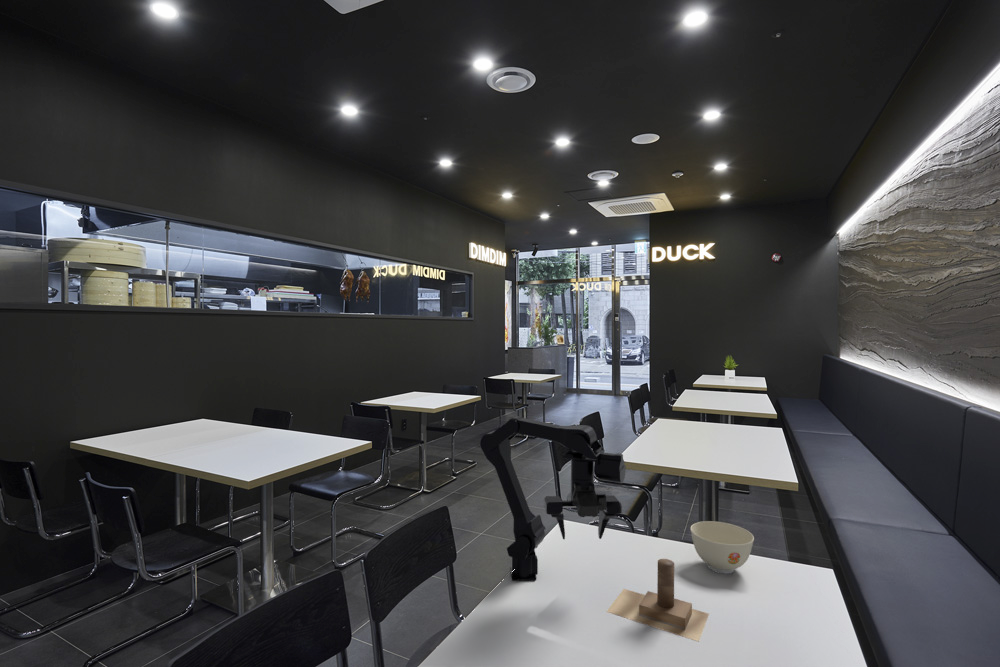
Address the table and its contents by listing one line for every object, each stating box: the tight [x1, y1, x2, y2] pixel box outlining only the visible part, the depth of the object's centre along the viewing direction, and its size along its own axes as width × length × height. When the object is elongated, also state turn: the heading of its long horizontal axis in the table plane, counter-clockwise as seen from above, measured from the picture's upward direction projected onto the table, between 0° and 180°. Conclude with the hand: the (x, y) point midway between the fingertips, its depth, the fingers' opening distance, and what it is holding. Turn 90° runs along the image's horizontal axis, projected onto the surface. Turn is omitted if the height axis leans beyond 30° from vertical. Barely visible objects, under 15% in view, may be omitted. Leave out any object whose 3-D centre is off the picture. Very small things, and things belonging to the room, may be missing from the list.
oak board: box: [606, 588, 710, 642], centre depth 114 cm, size 20×12×1 cm, turn 58°
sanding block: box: [639, 558, 693, 630], centre depth 113 cm, size 10×7×12 cm
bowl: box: [690, 520, 755, 575], centre depth 138 cm, size 16×16×10 cm
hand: (581, 538), depth 126 cm, fingers open, 9 cm apart
